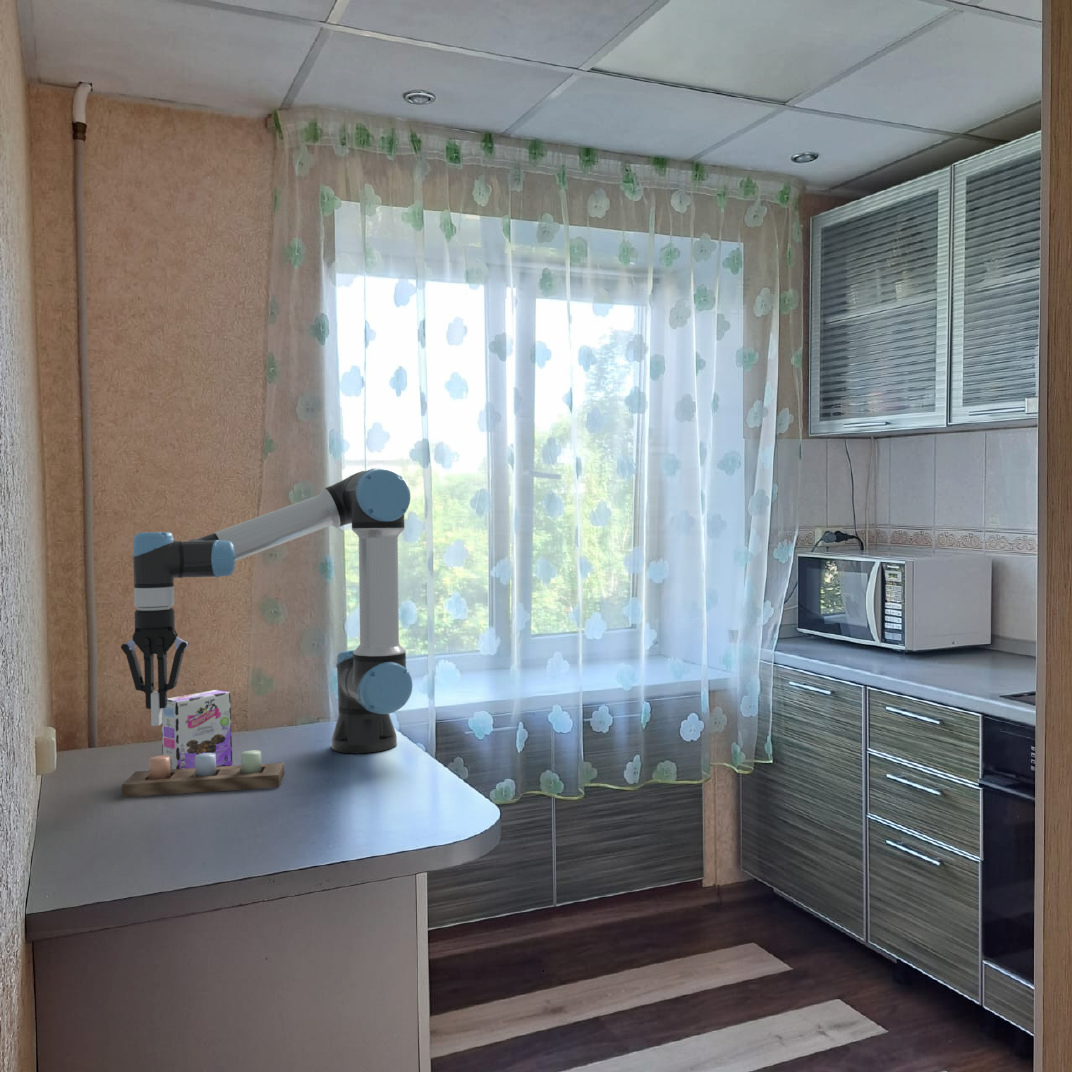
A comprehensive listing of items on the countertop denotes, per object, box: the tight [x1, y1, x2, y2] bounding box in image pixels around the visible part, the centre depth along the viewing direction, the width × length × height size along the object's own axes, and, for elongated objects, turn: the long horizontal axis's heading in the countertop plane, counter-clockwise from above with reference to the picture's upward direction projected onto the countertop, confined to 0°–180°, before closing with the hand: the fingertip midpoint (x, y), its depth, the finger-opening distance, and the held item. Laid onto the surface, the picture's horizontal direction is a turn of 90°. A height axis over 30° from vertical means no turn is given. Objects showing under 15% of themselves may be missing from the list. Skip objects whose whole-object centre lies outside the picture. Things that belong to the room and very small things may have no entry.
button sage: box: [240, 749, 262, 774], centre depth 200 cm, size 4×4×4 cm
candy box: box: [161, 689, 233, 769], centre depth 212 cm, size 14×6×16 cm, turn 143°
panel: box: [121, 762, 286, 798], centre depth 199 cm, size 30×10×2 cm, turn 98°
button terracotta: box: [148, 754, 171, 780], centre depth 198 cm, size 4×4×4 cm
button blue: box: [195, 753, 216, 777], centre depth 199 cm, size 4×4×4 cm
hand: (156, 724), depth 197 cm, fingers closed
